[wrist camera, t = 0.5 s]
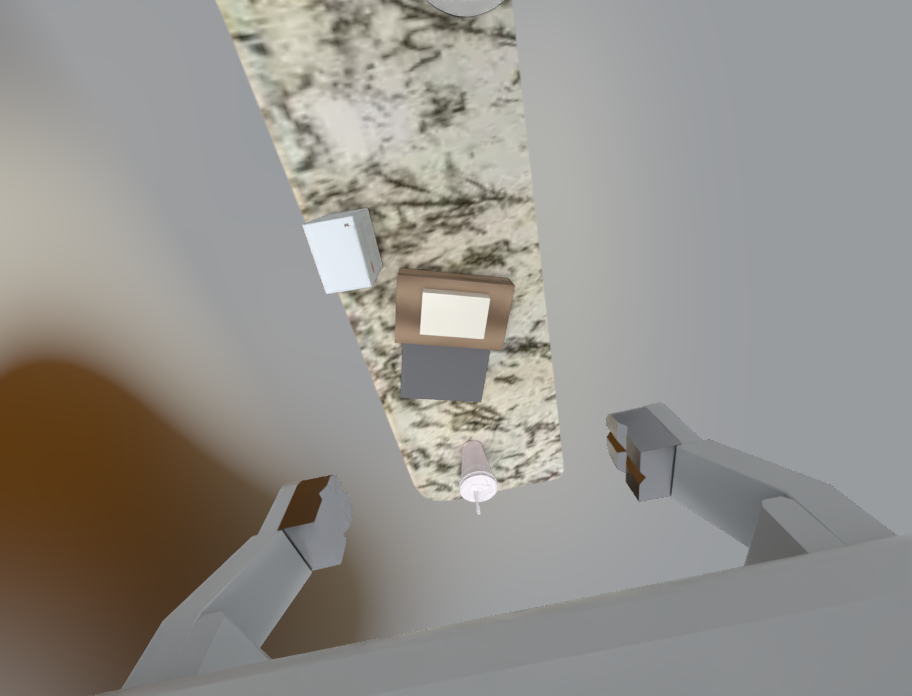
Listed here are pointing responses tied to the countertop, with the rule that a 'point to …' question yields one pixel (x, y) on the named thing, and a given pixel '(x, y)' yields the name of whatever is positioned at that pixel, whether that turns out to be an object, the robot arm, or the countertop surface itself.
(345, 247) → the small box
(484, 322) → the tile
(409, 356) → the mat
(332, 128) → the countertop surface
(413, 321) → the brown wooden block
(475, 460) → the smoothie
